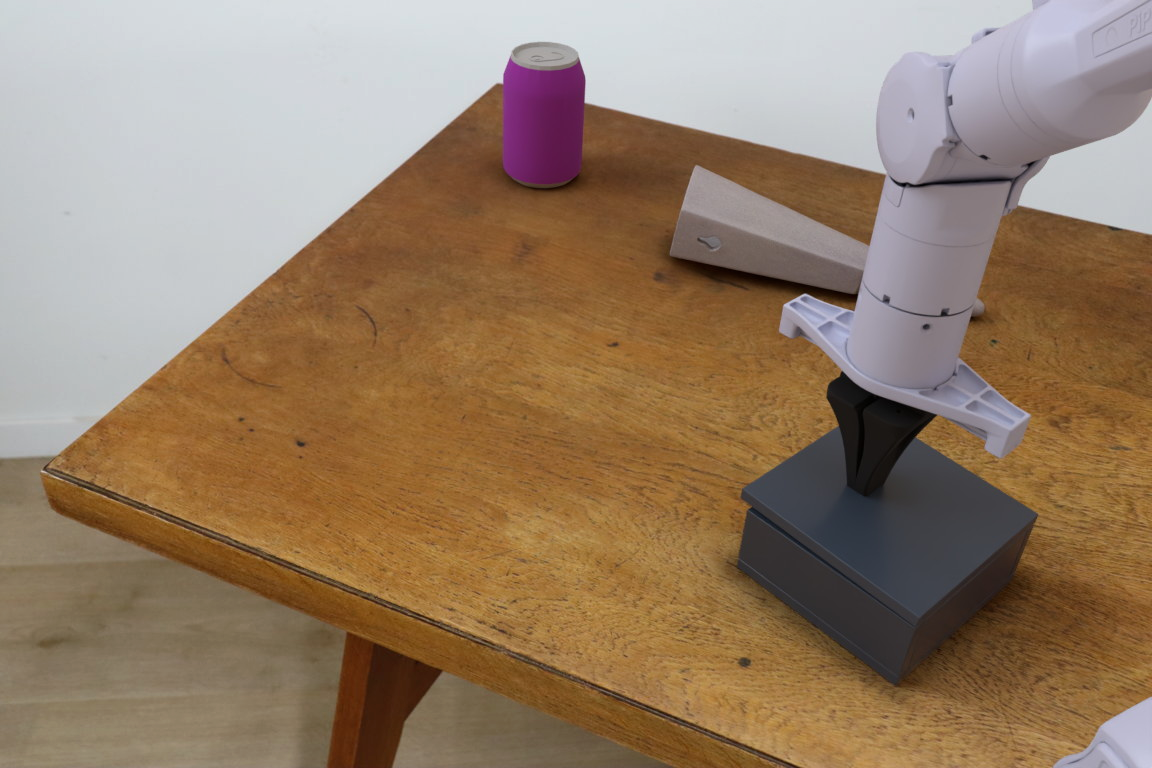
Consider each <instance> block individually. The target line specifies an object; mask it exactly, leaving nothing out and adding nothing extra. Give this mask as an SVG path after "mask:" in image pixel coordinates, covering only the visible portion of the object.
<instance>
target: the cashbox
mask: <svg viewBox="0 0 1152 768" xmlns="http://www.w3.org/2000/svg"><path fill="white" fill-rule="evenodd" d="M1034 525H1035V524H1033V525H1032V526H1031V527H1030V528H1029V529H1028V530H1027V531H1025V532H1024V533H1023V534H1022V535H1021V536H1020V537H1019V538H1017V539H1016V540H1015V541H1014V542H1013V543H1012V544H1011V545H1009V546H1008V547H1007V548H1006V549H1005V550H1004V551H1003V552H1001V553H1000V554H999V555H998V556H997V557H996V558H995V559H993V560H992V561H991V562H990V563H989V564H988V565H987V566H985V567H984V568H983V569H982V570H981V571H980V572H979V573H977V574H976V575H975V576H974V577H973V578H972V579H971V580H969V581H968V582H967V583H966V584H965V585H964V586H963V587H961V588H960V589H959V590H958V591H957V592H956V593H955V594H953V595H952V596H951V597H950V598H949V599H948V600H947V601H945V602H944V603H943V604H942V605H941V606H940V607H939V608H937V609H936V610H935V611H934V612H933V613H932V614H931V615H929V616H928V617H927V618H926V619H925V620H924V621H923V622H921V623H920V624H919V625H918V626H917V627H915V626H913V625H912V624H911V623H909V622H908V621H907V620H905V619H904V618H902V617H901V616H900V615H898V614H897V613H896V612H894V611H893V610H892V609H890V608H889V607H888V606H886V605H885V604H883V603H882V602H881V601H879V600H878V599H877V598H875V597H874V596H873V595H871V594H870V593H869V592H867V591H866V590H864V589H863V588H862V587H860V586H859V585H858V584H856V583H855V582H854V581H852V580H851V579H850V578H848V577H847V576H845V575H844V574H843V573H841V572H840V571H839V570H837V569H836V568H835V567H833V566H832V565H831V564H829V563H828V562H827V561H825V560H824V559H822V558H821V557H820V556H818V555H817V554H816V553H814V552H813V551H812V550H810V549H809V548H808V547H806V546H805V545H803V544H802V543H801V542H799V541H798V540H797V539H795V538H794V537H793V536H791V535H790V534H789V533H787V532H786V531H784V530H783V529H782V528H780V527H779V526H778V525H776V524H775V523H774V522H772V521H771V520H770V519H768V518H767V517H765V516H764V515H763V514H761V513H760V512H759V511H757V510H756V509H755V508H753V507H752V506H750V507H749V508H748V509H747V510H746V513H745V519H744V525H743V530H742V534H741V535H742V536H741V540H740V546H739V551H738V557H737V558H738V559H737V564H736V567H737V568H738V569H739V570H740V571H742V572H743V573H744V574H745V575H747V576H748V577H750V578H751V579H752V580H753V581H754V582H756V583H757V584H759V585H760V586H761V587H762V588H764V589H765V590H766V591H768V592H769V593H771V594H772V595H773V596H774V597H776V598H777V599H778V600H780V601H781V602H783V603H784V604H785V605H787V606H788V607H789V608H790V609H792V610H793V611H795V612H796V613H797V614H798V615H800V616H801V617H803V618H804V619H805V620H807V621H808V622H809V623H810V624H812V625H813V626H815V627H816V628H817V629H818V630H820V631H821V632H822V633H824V634H825V635H826V636H828V637H829V638H830V639H832V640H833V641H835V642H836V643H838V644H839V645H840V646H841V647H843V648H844V649H845V650H847V651H848V652H850V653H851V654H852V655H853V656H855V657H856V658H857V659H859V660H860V661H861V662H863V663H864V664H865V665H866V666H868V667H869V668H871V669H872V670H873V671H875V672H876V673H877V674H878V675H880V676H881V677H883V678H884V679H885V680H887V681H888V682H890V683H891V684H892V685H893V686H895V687H897V686H898V685H899V684H900V683H901V682H902V681H904V680H905V679H906V678H907V677H908V676H909V675H911V673H913V671H915V670H916V669H917V668H918V667H919V666H920V665H921V664H922V663H924V661H925V660H927V659H928V658H929V657H930V656H931V655H932V654H934V653H935V652H936V651H937V650H938V649H939V648H940V647H941V646H942V645H943V644H944V643H945V642H947V641H948V640H949V639H951V637H952V636H953V635H954V634H956V632H958V630H960V628H962V627H963V626H964V625H965V624H966V623H968V621H970V620H971V619H972V618H973V617H974V616H975V615H976V614H977V613H978V612H979V611H981V610H982V609H983V608H984V607H985V606H986V605H987V604H988V603H989V602H991V601H992V599H994V598H995V597H996V596H997V595H998V594H999V593H1000V592H1001V591H1002V590H1003V589H1005V588H1006V587H1007V586H1008V585H1009V584H1010V583H1011V582H1012V580H1013V578H1014V576H1015V573H1016V571H1017V568H1018V566H1019V563H1020V561H1021V559H1022V556H1023V554H1024V551H1025V549H1026V546H1027V544H1028V541H1029V539H1030V536H1031V534H1032V531H1033V529H1034Z"/></svg>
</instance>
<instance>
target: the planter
mask: <svg viewBox="0 0 1152 768" xmlns="http://www.w3.org/2000/svg"><path fill="white" fill-rule="evenodd" d="M670 246H671V247H670V251H669V256H670V257H673V258H676V259H681V260H682V259H683V260H686V261H691V262H696V263H701V264H705V265H712V266H716V267H720V268H725V269H730V270H734V271H740V272H744V273H749V274H753V275H759V276H764V277H768V278H773V279H777V280H778V279H779V280H783V281H787V282H792V283H798V284H800V285H801V284H802V285H805V286H806V285H807V286H810V287H811V286H812V287H816V288H820V289H826V290H831V291H835V292H840V293H845V294H850V295H859V290H860V286H861V281H862V277H863V272H864V268H865V264H866V259H867V255H868V251H869V247H870V245H868V244H866V243H864V242H862V241H859V240H858V239H855V238H853V237H851V236H849V235H846V234H845V233H843V232H841V231H838V230H836V229H834V228H832V227H829V226H827V225H825V224H823V223H821V222H819V221H817V220H815V219H813V218H811V217H809V216H806V215H805V214H802V213H801V212H797V211H796V210H794V209H791V208H789V207H787V206H785V205H783V204H780V203H779V202H776V201H775V200H772V199H770V198H768V197H766V196H763V195H761V194H759V193H758V192H755V191H752V190H750V189H749V188H747V187H744V186H742V185H741V184H739V183H737V182H735V181H732V180H730V179H728V178H726V177H724V176H721V175H720V174H717V173H715V172H712V171H711V170H708V169H706V168H704V167H703V166H700V165H699V164H698V165H697V164H696V165H695V166H694V168H693V170H692V173H691V175H690V179H689V182H688V185H687V188H686V190H685V195H684V198H683V202H682V205H681V209H680V211H679V215H678V219H677V222H676V226H675V230H674V233H673V238H672V242H671V245H670ZM985 309H986V307H985V303H984V302H983V301H982V300H981V299H979V298H978V297H977V298H976V301H975V304H974V308H973V311H972V314H971V317H973V318H976V317H980V316H982V315H983V314H984V313H985ZM971 317H970V318H971Z"/></svg>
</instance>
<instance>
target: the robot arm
mask: <svg viewBox="0 0 1152 768" xmlns="http://www.w3.org/2000/svg"><path fill="white" fill-rule="evenodd" d="M1031 3H1032V10H1031V11H1029V12H1027V13H1025V14H1023V15H1021V16H1020V17H1018V18H1016V19H1014V20H1012V21H1011V22H1009V23H1006V24H1005V25H1003V26H1002V27H1001V26H999V27H984V28H982V29H980V30H978V31H977V32H974V33H973V34H972V36H971V40H970V41H971V42H970V44H969V45H967V46H965V47H963V48H962V49H960V50H957V52H955V53H954V54H946V55H932V54H930V53H927V52H923V51H906V52H904V53H903V55H901V57H900V59H898V61H897V62H895V63H894V64H893V65H892V66H891V68H890V69H889V71H888V72H887V74H886V76H885V77H884V80H883V82H882V85H881V88H880V92H879V95H878V99H877V105H876V114H875V115H876V117H875V134H876V144H877V150H878V154H879V157H880V160H881V163H882V165H883V168H884V169H885V171H886V174H885V178H884V182H883V185H882V190H881V195H880V199H879V204H878V208H877V213H876V217H875V221H874V225H873V230H872V233H871V239H870V243H869V246H870V247H869V251H868V255H867V259H866V264H865V268H864V272H863V277H862V281H861V286H860V290H859V294H857V300H856V303H855V304H856V305H855V308H854V310H850V309H847V308H844V307H841V306H837V305H834V304H831V303H828V302H825V301H823V300H821V299H818V298H816V297H814V296H812V295H810V294H808V293H803V294H801V295H799V296H797V297H796V298H794V299H792V300H789V301H788V302H786V303H784V304H783V306H782V310H781V317H780V323H779V327H778V328H779V329H778V332H779V333H780V334H781V335H784V337H787V338H789V339H792V340H794V339H798V338H799V337H801V338H802V339H804V340H806V341H808V342H810V343H811V344H813V345H815V346H816V347H818V348H820V349H821V350H822V352H824V353H825V354H826V356H827V357H828V358H829V359H830V360H831V361H832V362H833V363H834V364H835V365H836V366H837V367H838V368H839V369H840V370H841V371H840V374H839V376H837V377H836V378H834V379H833V380H831V381H830V382H829V383H828V385H827V388H826V396H825V398H826V400H827V402H828V404H829V405H830V407H831V409H832V411H833V414H834V416H835V419H836V422H837V424H838V425H837V426H839V428H840V431H841V435H842V440H843V445H844V452H845V462H846V476H847V486H849V487H850V488H852V489H853V490H855V491H856V492H858V493H859V494H861V495H862V496H866V497H867V496H868V495H869V494H871V493H872V492H873V491H875V490H876V489H878V488H879V487H880V486H882V485H883V484H884V483H885V481H886V479H887V477H888V476H889V474H890V472H891V470H892V468H893V467H894V465H895V464H896V462H897V460H898V459H899V457H900V456H901V455H902V453H903V452H904V451H905V449H906V448H907V447H908V445H909V444H910V443H911V442H912V441H913V439H914V438H915V437H916V438H917V436H918V435H919V434H920V433H921V432H922V431H923V430H925V428H926V427H927V426H928V425H929V424H930V423H931V422H932V421H933V420H934V419H935V418H936V417H938V416H939V417H942V418H943V419H945V420H946V421H949V422H950V423H953V424H954V425H956V426H957V427H959V428H960V429H961V428H962V429H963V430H965V431H966V432H968V433H970V434H972V435H973V436H975V437H977V438H978V439H980V440H982V441H984V442H985V444H984V446H983V447H984V450H985V451H986V452H988V453H989V454H991V455H993V456H995V457H996V458H998V459H1000V460H1001V459H1003V458H1005V457H1006V456H1007V455H1009V454H1010V453H1012V452H1013V451H1014V450H1015V449H1016V448H1018V447H1019V446H1020V445H1021V444H1022V443H1023V440H1024V436H1025V434H1026V431H1027V428H1028V427H1029V423H1030V421H1031V417H1032V414H1031V413H1029V412H1027V411H1026V410H1024V409H1022V408H1021V407H1018V406H1017V405H1015V404H1014V403H1012V402H1011V401H1009V400H1008V399H1007V398H1006V397H1005V396H1003V395H1002V394H1001V393H999V391H998V390H996V388H994V387H993V386H992V385H991V384H990V383H988V382H987V381H986V380H985V379H984V378H983V377H982V376H981V375H979V374H978V373H977V372H976V371H975V370H974V369H973V368H972V367H970V366H969V365H968V364H967V363H966V362H965V361H964V360H963V359H961V357H959V356H960V353H961V349H962V346H963V343H964V340H965V337H966V334H967V331H968V327H969V323H970V320H971V314H972V311H973V308H974V304H975V301H976V298H978V294H979V292H980V288H981V286H982V285H981V284H982V282H983V278H984V275H985V272H986V269H987V266H988V262H989V259H990V255H991V252H992V249H993V245H994V242H995V239H996V235H997V232H998V229H999V226H1000V223H1001V220H1002V217H1006V216H1007V215H1009V214H1011V213H1012V212H1013V210H1016V209H1017V208H1018V205H1019V202H1020V199H1021V196H1022V193H1023V190H1024V188H1025V186H1026V185H1027V184H1028V182H1029V181H1030V180H1031V179H1033V178H1034V177H1035V176H1036V175H1038V174H1039V173H1040V172H1041V170H1042V169H1044V167H1045V166H1046V164H1047V163H1048V161H1049V159H1050V157H1052V156H1055V155H1059V154H1061V153H1065V152H1068V151H1071V150H1073V149H1076V148H1080V147H1083V146H1086V145H1089V144H1093V143H1095V142H1099V141H1102V140H1104V139H1108V138H1110V137H1114V136H1116V135H1118V134H1121V133H1123V132H1124V131H1125V130H1127V129H1128V128H1130V127H1131V126H1133V124H1135V123H1136V122H1137V121H1138V120H1139V118H1141V116H1142V115H1143V113H1144V112H1145V111H1146V109H1147V108H1148V106H1149V103H1150V102H1151V100H1152V0H1031ZM1051 768H1152V696H1149V697H1148V698H1145V699H1144V700H1141V701H1140V702H1139V703H1136V704H1135V705H1132V706H1131V707H1129V708H1127V709H1125V710H1124V711H1122V712H1120V713H1118V714H1117V715H1115V716H1113V717H1111V718H1110V719H1107V720H1106V721H1105V722H1104V723H1102V724H1101V725H1100V726H1099V727H1098V729H1097V731H1096V733H1095V735H1094V736H1093V738H1092V740H1091V742H1090V743H1089V745H1088V746H1087V747H1086V748H1085V749H1083V750H1082V751H1080V752H1077V753H1073V754H1068V755H1065V756H1063V757H1061V758H1060V759H1058V760H1057V761H1056V762H1055V763H1054V765H1053V766H1052V767H1051Z"/></svg>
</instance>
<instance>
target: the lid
mask: <svg viewBox="0 0 1152 768" xmlns="http://www.w3.org/2000/svg"><path fill="white" fill-rule="evenodd" d="M740 499H741V500H742V501H744V502H745V503H746V504H747V505H750V507H753V508H755V509H756V510H757V511H759V512H760V513H761V514H763V515H764V516H765V517H767V518H768V519H770V520H771V521H772V522H774V523H775V524H776V525H778V526H779V527H780V528H782V529H783V530H784V531H786V532H787V533H789V534H790V535H791V536H793V537H794V538H795V539H797V540H798V541H799V542H801V543H802V544H803V545H805V546H806V547H808V548H809V549H810V550H812V551H813V552H814V553H816V554H817V555H818V556H820V557H821V558H822V559H824V560H825V561H827V562H828V563H829V564H831V565H832V566H833V567H835V568H836V569H837V570H839V571H840V572H841V573H843V574H844V575H845V576H847V577H848V578H850V579H851V580H852V581H854V582H855V583H856V584H858V585H859V586H860V587H862V588H863V589H864V590H866V591H867V592H869V593H870V594H871V595H873V596H874V597H875V598H877V599H878V600H879V601H881V602H882V603H883V604H885V605H886V606H888V607H889V608H890V609H892V610H893V611H894V612H896V613H897V614H898V615H900V616H901V617H902V618H904V619H905V620H907V621H908V622H909V623H911V624H912V625H913V626H915V627H917V626H918V625H919V624H920V623H921V622H923V621H924V620H925V619H926V618H927V617H928V616H929V615H931V614H932V613H933V612H934V611H935V610H936V609H937V608H939V607H940V606H941V605H942V604H943V603H944V602H945V601H947V600H948V599H949V598H950V597H951V596H952V595H953V594H955V593H956V592H957V591H958V590H959V589H960V588H961V587H963V586H964V585H965V584H966V583H967V582H968V581H969V580H971V579H972V578H973V577H974V576H975V575H976V574H977V573H979V572H980V571H981V570H982V569H983V568H984V567H985V566H987V565H988V564H989V563H990V562H991V561H992V560H993V559H995V558H996V557H997V556H998V555H999V554H1000V553H1001V552H1003V551H1004V550H1005V549H1006V548H1007V547H1008V546H1009V545H1011V544H1012V543H1013V542H1014V541H1015V540H1016V539H1017V538H1019V537H1020V536H1021V535H1022V534H1023V533H1024V532H1025V531H1027V530H1028V529H1029V528H1030V527H1031V526H1032V525H1035V523H1036V522H1037V520H1038V518H1039V515H1040V514H1039V513H1037V511H1034V510H1033V509H1032V508H1030V507H1028V506H1026V505H1025V504H1023V503H1022V502H1020V501H1019V500H1017V499H1015V498H1014V497H1013V496H1011V495H1009V494H1007V493H1006V492H1004V491H1003V490H1001V489H999V488H998V487H996V486H994V485H993V484H992V483H990V482H988V481H987V480H985V479H984V478H982V477H980V476H978V475H977V474H975V473H974V472H972V471H971V470H970V469H969V470H968V469H967V468H965V467H964V466H963V465H961V464H959V463H958V462H957V461H955V460H953V459H952V458H950V457H948V456H947V455H945V454H943V452H941V451H939V450H937V449H935V448H934V447H932V446H931V445H929V444H927V443H925V442H924V441H922V440H921V439H919V438H918V437H917V436H916V437H915V438H914V439H913V441H912V442H911V443H910V444H909V445H908V447H907V448H906V449H905V451H904V452H903V453H902V455H901V456H900V457H899V459H898V460H897V462H896V464H895V465H894V467H893V468H892V470H891V472H890V474H889V476H888V477H887V479H886V481H885V483H884V484H883V485H882V486H880V487H879V488H878V489H876V490H875V491H873V492H872V493H871V494H869V495H868V496H867V497H866V496H862V495H861V494H859V493H858V492H856V491H855V490H853V489H852V488H850V487H849V486H847V476H846V462H845V452H844V445H843V440H842V435H841V431H840V428H839V425H837V426H836V427H834V428H833V429H831V430H829V431H828V432H827V433H825V434H824V435H822V436H820V437H819V438H817V439H816V440H814V441H813V442H811V443H810V444H808V445H807V446H805V447H804V448H802V449H800V450H799V451H797V452H796V453H795V454H793V455H791V456H790V457H788V458H787V459H785V460H784V461H782V462H781V463H779V464H778V465H776V466H774V467H773V468H771V470H768V471H767V472H766V473H763V474H762V475H761V476H759V477H758V478H756V479H755V480H753V481H751V482H750V483H749V484H747V485H746V486H744V487H742V490H741V494H740Z"/></svg>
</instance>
